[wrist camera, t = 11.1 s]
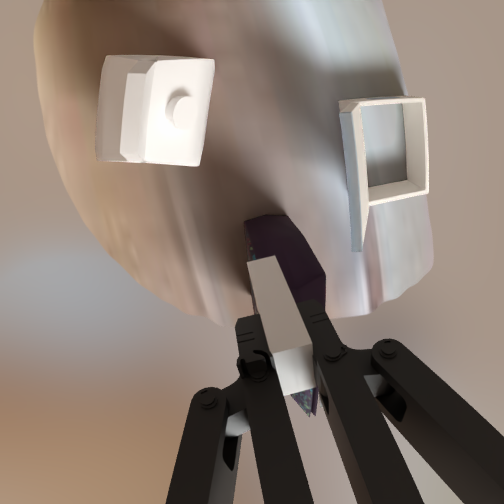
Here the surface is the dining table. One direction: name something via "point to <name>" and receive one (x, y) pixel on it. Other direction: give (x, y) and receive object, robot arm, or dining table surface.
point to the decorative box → (288, 271)
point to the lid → (355, 172)
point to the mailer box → (414, 149)
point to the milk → (153, 109)
